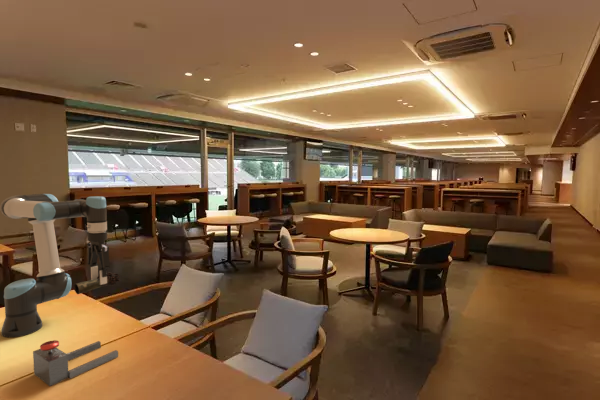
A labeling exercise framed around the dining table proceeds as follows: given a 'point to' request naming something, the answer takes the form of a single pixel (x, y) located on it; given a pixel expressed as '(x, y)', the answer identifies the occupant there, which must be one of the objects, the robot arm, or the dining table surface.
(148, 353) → the dining table surface
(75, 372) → the cradle
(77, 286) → the morel mushroom
